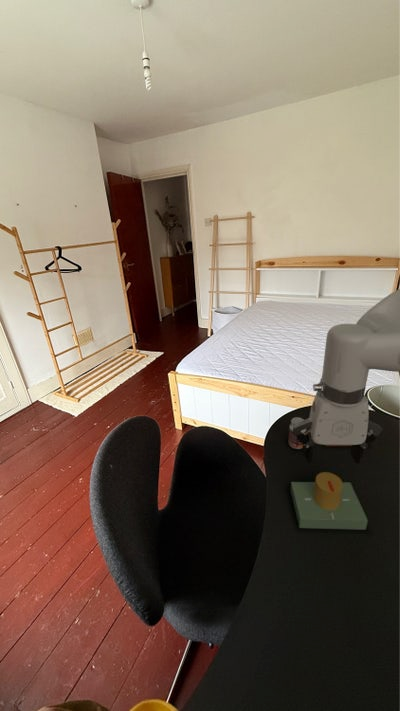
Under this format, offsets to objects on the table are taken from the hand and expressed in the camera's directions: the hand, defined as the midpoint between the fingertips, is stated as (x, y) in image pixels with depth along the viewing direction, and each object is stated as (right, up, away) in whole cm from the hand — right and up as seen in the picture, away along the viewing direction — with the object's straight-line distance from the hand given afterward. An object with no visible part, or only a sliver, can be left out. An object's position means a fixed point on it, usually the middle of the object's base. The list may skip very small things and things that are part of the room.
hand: (331, 458), depth 63 cm
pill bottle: (+1, -5, +27) cm, 27 cm away
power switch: (+16, -3, +29) cm, 33 cm away
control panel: (+1, -14, +6) cm, 16 cm away
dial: (+1, -11, +5) cm, 12 cm away
